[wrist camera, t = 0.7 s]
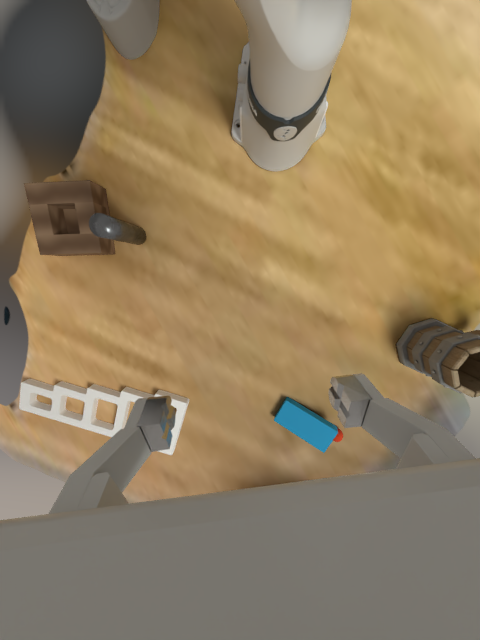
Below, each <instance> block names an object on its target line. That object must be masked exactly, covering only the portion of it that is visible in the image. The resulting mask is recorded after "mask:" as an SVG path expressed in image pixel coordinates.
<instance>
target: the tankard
mask: <svg viewBox="0 0 480 640" xmlns="http://www.w3.org/2000/svg"><path fill="white" fill-rule="evenodd" d="M396 345H397V349H398V354H399V358H400V363H402V364H403V365H405V366H407V367H410V368H412V369H414V370H416V371H418V372H420V373H422V374H423V373H424V374H426V376H430V377H432V379H433V380H435V381H436V382H438V383H440V384H442V385H443V386H444V387H446V388H450V389H452V390H454V391H457V392H459V393H464V394H466V395H469V396H471V397H477V396H480V330H475V331H471V332H466V333H463V331H462V330H457V329H455V328H453V327H451V326H449V325H447V324H445V323H443V322H440V321H438V320H436V319H433V318H431V319H428V320H425V321H422V322H418V323H415V324H412V325H409V326H408V328H407V329H406V331H405V332H404V334H403V335H402V336H401V338H400V339H399V341H398V342H397V344H396Z"/></svg>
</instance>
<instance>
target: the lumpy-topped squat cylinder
mask: <svg viewBox="0 0 480 640" xmlns="http://www.w3.org/2000/svg"><path fill="white" fill-rule="evenodd" d="M86 1H87V3H88V5H89V6H90V8H91V10H92V12H93V13H94V15H95V16H96V18H97V19H98V21H99V23H100V24H101V26H102V28H103V29H104V31H105V33H106V34H107V36H108V37H109V39H110V41H111V42H112V44H113V45H114V47H115V48H116V50H117V51H118V52H119V53H120V54H121V55H122V56H123V57H124V58H126V59H131V60H132V59H136V58H138V57H140V56H142V55H143V54H144V53H145V52H146V51H147V50H148V48H149V47H150V45H151V44H152V42H153V40H154V38H155V36H156V33H157V28H158V21H159V4H160V0H86Z"/></svg>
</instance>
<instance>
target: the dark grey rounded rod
mask: <svg viewBox="0 0 480 640" xmlns="http://www.w3.org/2000/svg"><path fill="white" fill-rule="evenodd" d="M89 227H90V230H91V232H92V233H93V234H94V235H96V236H98V237H101V238H106V239H111V240H116V241H121V242H126V243H132V244H137V245H141V244H143V243H144V242H145V240H146V233H145V231H144V230H143V229H142V228H141V227H138V226H135V225H133V224H130V223H127V222H124V221H122V220H119V219H116V218H113V217H110V216H108V215H105V214H102V213H95V214H93V215H92V216H91V217H90V219H89Z"/></svg>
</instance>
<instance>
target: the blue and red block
mask: <svg viewBox="0 0 480 640" xmlns="http://www.w3.org/2000/svg"><path fill="white" fill-rule="evenodd" d="M274 421H275V422H277V423H279V424H280V425H282V426H283V427H285V428H286V429H288V430H289V431H291V432H292V433H294V434H296V435H297V436H299V437H300V438H302V439H303V440H305V441H306V442H308V443H309V444H311V445H313V446H314V447H316V448H317V449H319V450H320V451H322V452H323V453H324V452H325V451H326V449H327V448H328V447H329V445H330V444H331V442H332V441H335V442H339V441H341V440H342V438H343V434H342V431H341V430H340V429H338V428H337V426H335V425H333V424H332V423H330V422H328V421H327V420H325V419H324V418H322V417H320V416H319V415H317V414H315V413H314V412H312V411H310V410H309V409H307V408H306V407H304V406H302V405H301V404H299V403H297V402H296V401H294V400H292V399H291V398H289V397H286V399H285V401H284V402H283V404H282V406H281V407H280V409H279V411H278V412H277V414H276V416H275V419H274Z"/></svg>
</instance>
